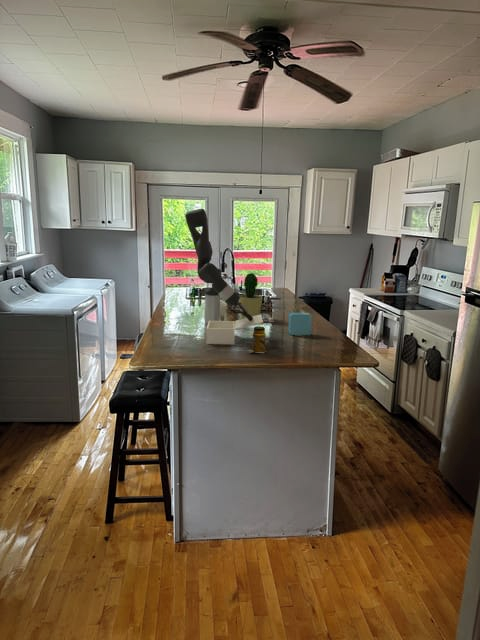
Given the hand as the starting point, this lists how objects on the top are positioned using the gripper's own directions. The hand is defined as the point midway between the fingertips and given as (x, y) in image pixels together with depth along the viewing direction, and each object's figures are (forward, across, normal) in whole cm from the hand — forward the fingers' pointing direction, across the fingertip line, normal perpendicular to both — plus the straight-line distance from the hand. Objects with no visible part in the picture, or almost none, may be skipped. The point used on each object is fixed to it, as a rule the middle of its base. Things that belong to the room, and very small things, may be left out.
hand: (251, 319), depth 232 cm
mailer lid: (-1, 0, +2) cm, 2 cm away
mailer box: (-3, 0, +19) cm, 19 cm away
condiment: (+10, -21, +6) cm, 24 cm away
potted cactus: (+8, +53, +7) cm, 54 cm away
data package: (+27, +15, -12) cm, 33 cm away
